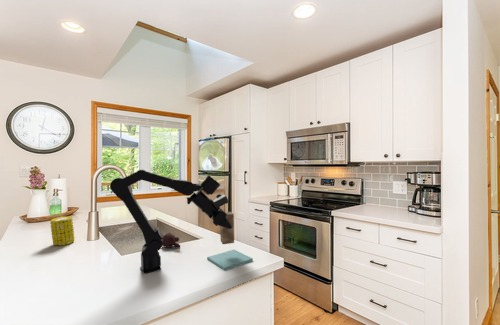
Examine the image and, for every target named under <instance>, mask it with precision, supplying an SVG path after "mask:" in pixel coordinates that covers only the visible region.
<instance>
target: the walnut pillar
mask: <svg viewBox="0 0 500 325" xmlns="http://www.w3.org/2000/svg"><path fill="white" fill-rule="evenodd" d="M224 212H225V213H226V214H227V215H226V219H227V221H228V222H229V223H230V225H231V226H232V228H231V229H229V228H226V227H222V226H219V227H220V230H219V231H220V235H219V236H220V242H221V244H222V245H230V244H235V223H234V222H235V221H234V220H235V216H234V215H235V214H234V212H232V211H224Z"/></svg>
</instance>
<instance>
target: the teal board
mask: <svg viewBox="0 0 500 325" xmlns="http://www.w3.org/2000/svg"><path fill="white" fill-rule="evenodd" d="M206 259H207V260H208V261H209V262H210V263H213V265H215V266H217V267H219V268H220V269H222V270H223V271H226V270H229V269H232V268H235V267H239V266H241V265H244V264H249V263H251V262H253V261H254V259H253V257H250V256H248V255H247V254H244V253H243V252H240V251H238V250H237V249H230V250H227V251H224V252H220V253H216V254H213V255H209V256H206Z"/></svg>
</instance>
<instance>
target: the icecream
mask: <svg viewBox="0 0 500 325" xmlns="http://www.w3.org/2000/svg"><path fill="white" fill-rule="evenodd" d="M177 242H180V238H179V237H178V236H176V235H175V234H173V233H171V232H168V233H165V234H163V245H162V247H164V248H171V247H173V246H174V247H175V248H177V249H180V248H181V244H179V243H177Z"/></svg>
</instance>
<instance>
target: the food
mask: <svg viewBox="0 0 500 325" xmlns="http://www.w3.org/2000/svg"><path fill="white" fill-rule="evenodd" d="M50 230H51V231H50V232H51V240H52V245H54V246H65V245H69V244H72V243H74V242H75V238H76V237H75V228H74V222H73V217H72V216H62V215H60V217H59V216H57V217H55V218H54V217H53V218H52V219H50Z"/></svg>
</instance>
